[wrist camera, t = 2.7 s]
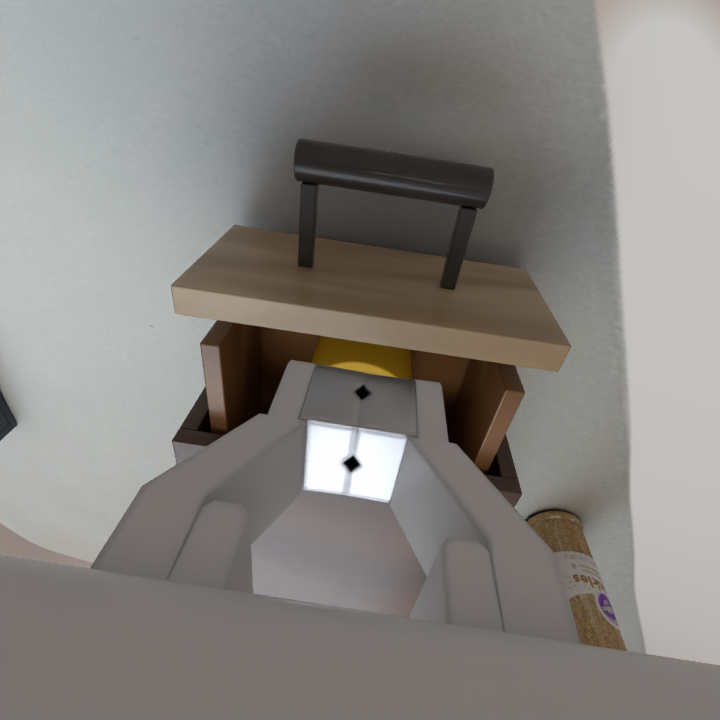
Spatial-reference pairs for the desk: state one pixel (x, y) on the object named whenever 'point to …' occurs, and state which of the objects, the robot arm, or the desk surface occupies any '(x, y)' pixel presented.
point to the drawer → (371, 300)
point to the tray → (5, 419)
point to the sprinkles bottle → (579, 579)
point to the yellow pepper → (363, 357)
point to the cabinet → (337, 539)
